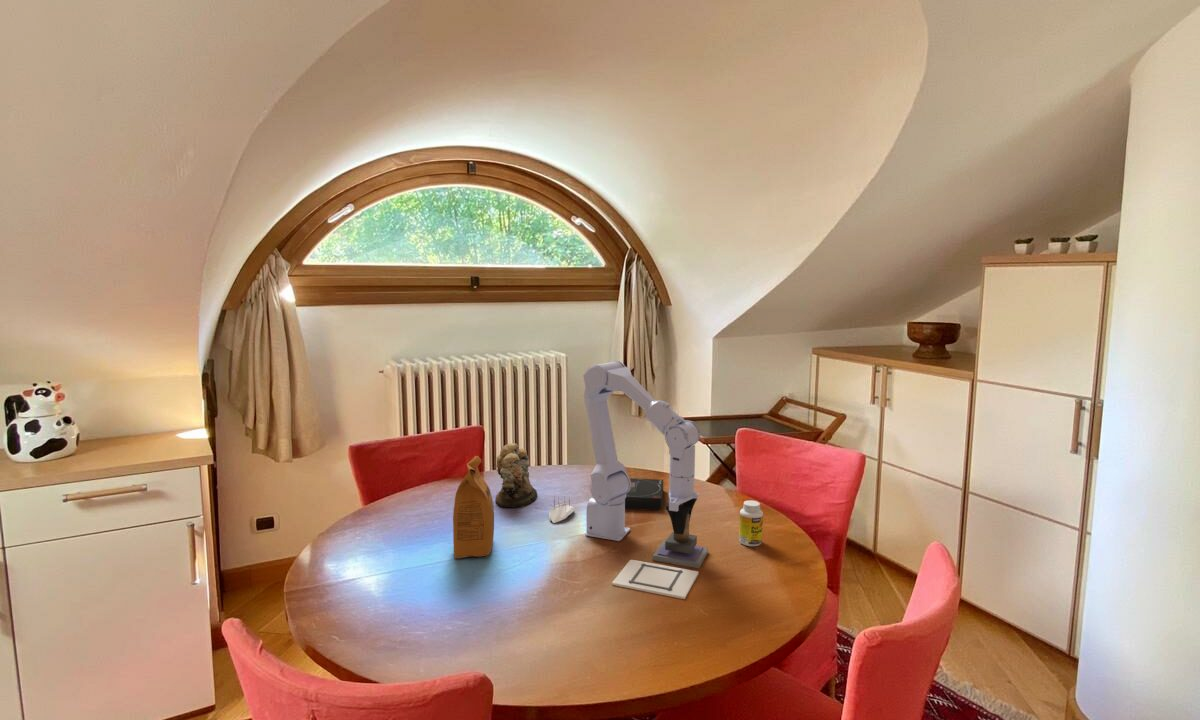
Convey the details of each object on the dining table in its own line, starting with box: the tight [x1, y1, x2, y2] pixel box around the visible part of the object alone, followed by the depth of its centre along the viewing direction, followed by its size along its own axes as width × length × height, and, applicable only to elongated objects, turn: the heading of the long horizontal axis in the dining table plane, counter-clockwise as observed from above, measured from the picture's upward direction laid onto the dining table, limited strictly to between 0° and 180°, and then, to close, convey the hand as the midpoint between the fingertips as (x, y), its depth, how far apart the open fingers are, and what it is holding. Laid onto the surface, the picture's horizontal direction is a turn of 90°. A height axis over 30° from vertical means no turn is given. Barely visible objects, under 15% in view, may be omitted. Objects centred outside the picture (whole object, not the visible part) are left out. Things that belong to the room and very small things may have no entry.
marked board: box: [611, 559, 699, 600], centre depth 139 cm, size 16×12×1 cm
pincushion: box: [548, 496, 575, 524], centre depth 175 cm, size 12×6×6 cm, turn 164°
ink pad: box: [652, 539, 709, 569], centre depth 150 cm, size 11×9×2 cm
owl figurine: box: [495, 442, 538, 509], centre depth 187 cm, size 18×12×17 cm, turn 176°
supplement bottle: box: [738, 500, 764, 547], centre depth 157 cm, size 6×6×10 cm
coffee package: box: [452, 455, 495, 560], centre depth 152 cm, size 10×12×22 cm
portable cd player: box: [625, 477, 664, 511], centre depth 188 cm, size 16×17×4 cm
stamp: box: [665, 513, 698, 554], centre depth 149 cm, size 6×6×8 cm
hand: (681, 530), depth 149 cm, fingers closed on stamp, 4 cm apart
